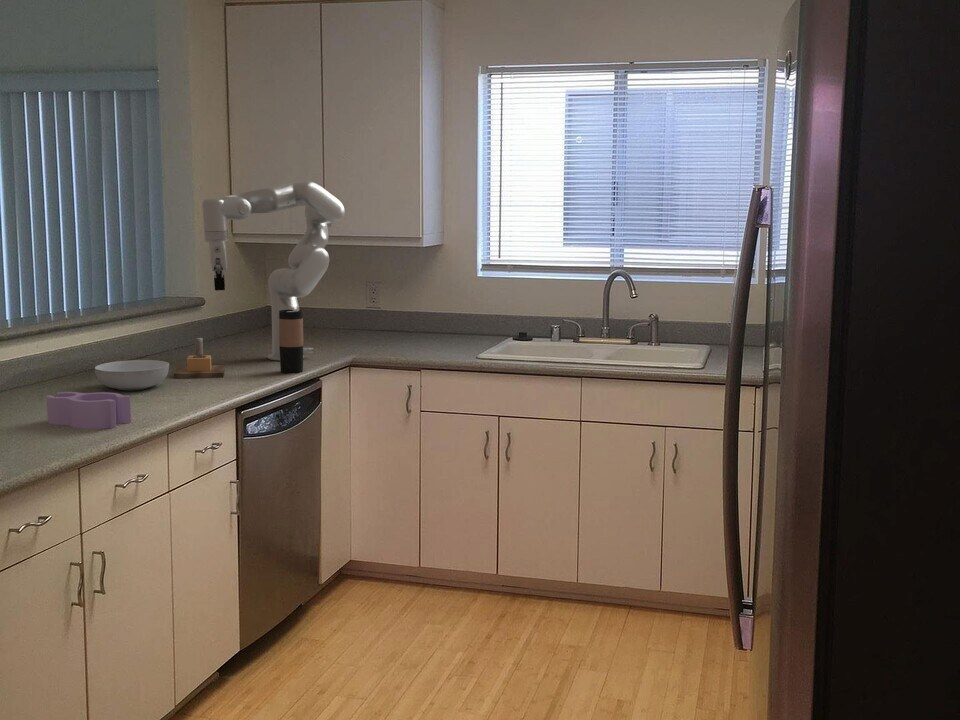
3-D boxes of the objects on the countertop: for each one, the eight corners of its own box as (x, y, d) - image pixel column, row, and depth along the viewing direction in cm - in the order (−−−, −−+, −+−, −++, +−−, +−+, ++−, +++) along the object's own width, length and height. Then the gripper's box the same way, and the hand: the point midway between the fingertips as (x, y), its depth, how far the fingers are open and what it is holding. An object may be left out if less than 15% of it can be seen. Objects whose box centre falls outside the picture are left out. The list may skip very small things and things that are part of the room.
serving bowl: (111, 381, 322) (110, 359, 321) (179, 382, 321) (178, 360, 320) (83, 393, 301) (82, 370, 300) (156, 395, 301) (155, 371, 300)
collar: (211, 367, 340) (211, 355, 339) (210, 370, 333) (209, 358, 333) (189, 367, 339) (188, 355, 338) (187, 371, 332) (186, 358, 331)
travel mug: (283, 374, 337) (282, 312, 334) (276, 370, 344) (275, 310, 341) (306, 372, 340) (305, 311, 337) (299, 369, 347) (298, 309, 344)
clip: (37, 426, 259) (35, 398, 258) (68, 416, 271) (67, 389, 270) (108, 431, 254) (107, 403, 253) (137, 421, 266) (136, 394, 265)
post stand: (224, 369, 345) (223, 334, 343) (223, 377, 330) (222, 341, 329) (177, 370, 342) (175, 335, 340) (173, 378, 327) (172, 341, 326)
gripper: (228, 237, 337) (231, 291, 340) (228, 234, 353) (231, 285, 357) (204, 238, 335) (207, 292, 338) (205, 235, 352) (208, 286, 355)
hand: (219, 288), depth 347 cm, fingers open, 9 cm apart
